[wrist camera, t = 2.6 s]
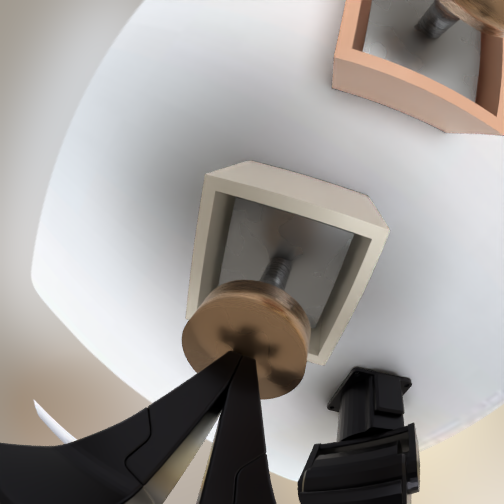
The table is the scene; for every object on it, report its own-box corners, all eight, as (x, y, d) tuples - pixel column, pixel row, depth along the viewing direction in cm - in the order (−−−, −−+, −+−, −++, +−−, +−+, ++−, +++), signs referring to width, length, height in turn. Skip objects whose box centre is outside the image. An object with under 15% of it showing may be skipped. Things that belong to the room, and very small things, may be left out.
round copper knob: (315, 323, 15) (298, 427, 9) (219, 291, 16) (158, 377, 10) (353, 230, 13) (370, 318, 7) (238, 195, 14) (160, 249, 7)
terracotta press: (446, 133, 13) (503, 135, 7) (331, 88, 14) (333, 57, 8) (461, 35, 10) (508, 4, 4) (352, -8, 11) (357, -66, 5)
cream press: (328, 298, 20) (323, 366, 14) (227, 265, 21) (185, 318, 15) (368, 195, 16) (390, 230, 10) (249, 160, 18) (205, 174, 11)
